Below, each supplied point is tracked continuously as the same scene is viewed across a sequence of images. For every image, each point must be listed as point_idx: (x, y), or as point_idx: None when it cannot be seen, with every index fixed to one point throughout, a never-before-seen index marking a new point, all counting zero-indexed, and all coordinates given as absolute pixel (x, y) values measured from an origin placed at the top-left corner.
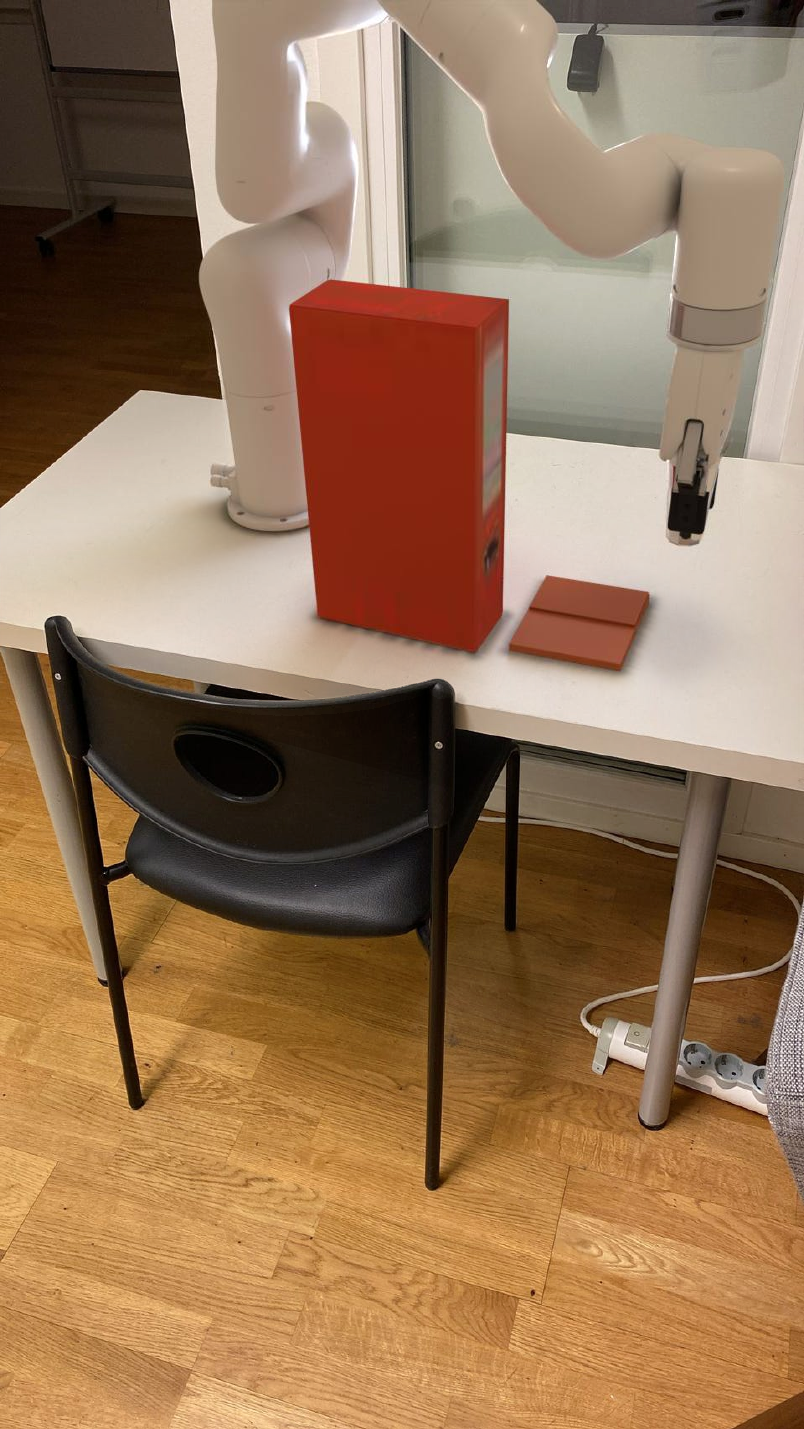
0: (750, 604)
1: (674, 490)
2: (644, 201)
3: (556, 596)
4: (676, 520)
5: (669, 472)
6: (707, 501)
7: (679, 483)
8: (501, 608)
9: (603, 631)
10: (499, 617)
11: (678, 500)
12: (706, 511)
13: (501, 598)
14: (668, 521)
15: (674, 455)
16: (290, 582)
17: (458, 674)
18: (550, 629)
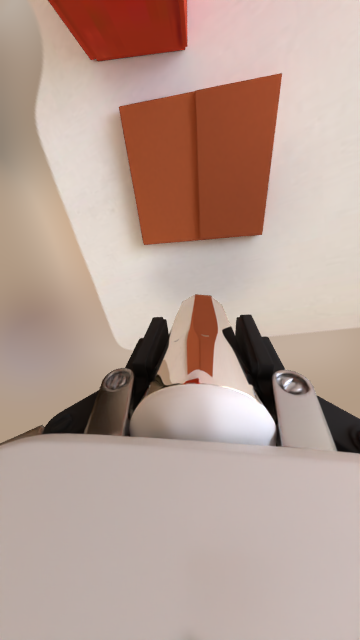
0: (269, 312)
1: (108, 378)
2: None
3: (228, 122)
4: (139, 341)
5: (162, 369)
6: None
7: (18, 437)
8: (180, 40)
9: (183, 211)
10: (174, 49)
11: (126, 366)
12: None
13: (177, 25)
14: (151, 323)
15: (151, 424)
16: None
17: (52, 64)
18: (165, 149)
